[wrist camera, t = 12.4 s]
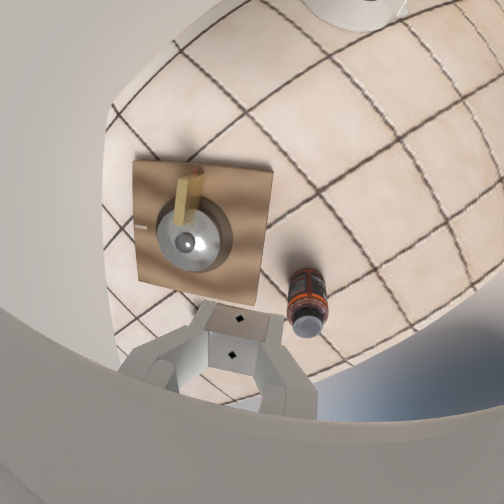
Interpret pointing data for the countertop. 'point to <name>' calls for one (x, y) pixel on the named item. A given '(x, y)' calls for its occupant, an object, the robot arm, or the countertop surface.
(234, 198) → the panel
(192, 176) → the grey round gold-handled piece
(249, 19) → the countertop surface
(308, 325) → the supplement bottle
